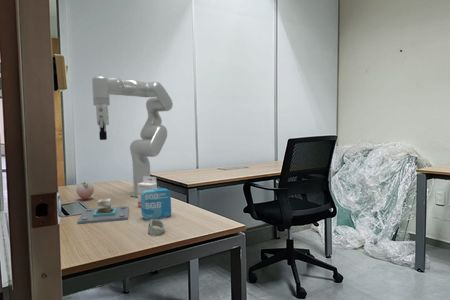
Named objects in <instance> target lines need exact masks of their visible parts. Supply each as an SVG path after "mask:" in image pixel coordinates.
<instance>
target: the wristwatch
mask: <svg viewBox="0 0 450 300" xmlns="http://www.w3.org/2000/svg"><path fill="white" fill-rule="evenodd" d="M156 227H159V228H156ZM165 227H166V225H165V224H164V222H163V221H161V220H159V219H150V220H149V224H148V229H147V234H150V235H152V236H160V234H161V235H162V234H163V233H164V230H165Z"/></svg>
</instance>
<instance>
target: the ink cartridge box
mask: <svg viewBox="0 0 450 300" xmlns="http://www.w3.org/2000/svg"><path fill="white" fill-rule="evenodd" d="M149 178H150V180H147V179H149ZM143 181H144V182H142V183H139V184H137V185H138V197H137V208H141V192H142V191H144V190H153V189H157V188H158V183H157V177H156V176H150V177H146V176H143Z"/></svg>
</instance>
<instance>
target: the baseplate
mask: <svg viewBox="0 0 450 300" xmlns="http://www.w3.org/2000/svg"><path fill="white" fill-rule="evenodd" d="M82 211H83V212H82V213H81V215H80V216H79V218H78V220H77V223H76V224H77V225H83V224H92V223H104V222H116V221H117V222H119V221H127V220H129V211H130V206H129V205H128V206H126V205H121V206H119V207H111V213H101V214H98V208H86V209H84V210H82Z"/></svg>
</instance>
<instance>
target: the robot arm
mask: <svg viewBox="0 0 450 300" xmlns="http://www.w3.org/2000/svg"><path fill="white" fill-rule="evenodd" d="M91 83H92V101H93V103H92V104H93V106H95V110H96V112H95V113H96V115H95V116H96V123H97V126H99V127H98V128H99V135H98V136H99V140H100V141H106V140H107V139H108V138H107V137H108V136H107V135H108V134H107V126H109V125H110V120H109V107H108V106H110V95H113V96H124V97H125V96H126V97H127V96H128V97H136V98H137V97H138V98H148V99H147V100H146V103H145V108H146V111H147V119H146V121H145V123H144V125H143V127H141V130H140V135H139V136H140V138H139V139H135V140H133V141H131V143H130V145H129V150H130V154H131V155H130V156H131V161H132V179H133V181H132V182H133V184H132V185H133V192H131V193H130V195H131V196H132V197H134V198H138V185H137V184H139V183H142V182H144V181H143V176H146V177H151V163H150V160H149V158H155V157H157V156H158V155H160V153H161V151H162V149H163V147H164V144H165V142H166V140H167V138H168V130H167V127H166V126H165V125H163V124H162V121H163V120H162V118H161V115H160V112H169V111H171V110H172V108H173V104H174V103H173V100H172V98H171V96H170V95H169V93H168V92H167V90H166V88H165V87H164V86H163V85H162V84H161V82H158V81H150V82H149V81H148V82H145V81H139V80H133V79H127V80H123V79H121V78H118V77H107V76H100V75H99V76H97V75H96V76H94V77H92V80H91ZM148 157H149V158H148ZM147 180H151V179H150V178H149V179H147ZM157 189H160V187H157Z"/></svg>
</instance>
